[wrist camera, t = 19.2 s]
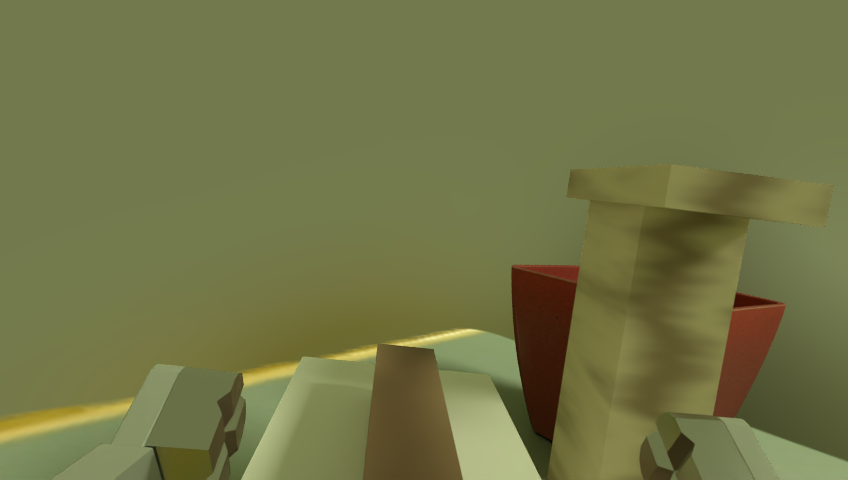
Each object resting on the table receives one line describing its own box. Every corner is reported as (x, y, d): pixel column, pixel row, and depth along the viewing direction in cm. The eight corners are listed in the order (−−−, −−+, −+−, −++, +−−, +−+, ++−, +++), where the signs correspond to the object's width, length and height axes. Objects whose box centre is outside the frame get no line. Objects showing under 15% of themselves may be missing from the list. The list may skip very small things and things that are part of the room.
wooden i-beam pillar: (632, 515, 42) (689, 184, 39) (751, 682, 28) (853, 188, 25) (507, 505, 41) (557, 168, 38) (566, 671, 27) (650, 161, 25)
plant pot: (591, 394, 67) (612, 263, 66) (757, 468, 53) (790, 302, 51) (484, 422, 55) (506, 263, 54) (659, 528, 41) (698, 313, 39)
